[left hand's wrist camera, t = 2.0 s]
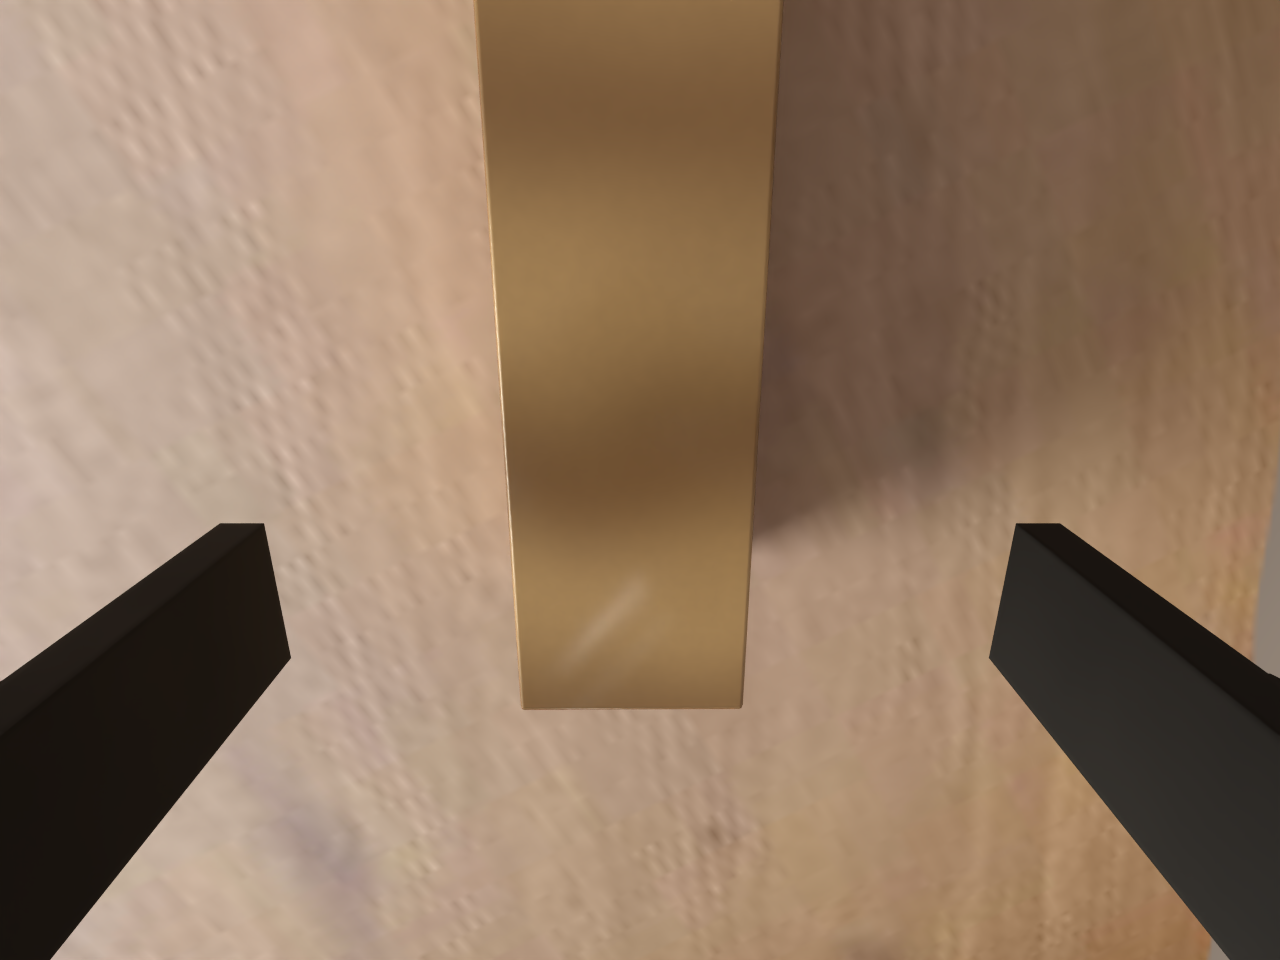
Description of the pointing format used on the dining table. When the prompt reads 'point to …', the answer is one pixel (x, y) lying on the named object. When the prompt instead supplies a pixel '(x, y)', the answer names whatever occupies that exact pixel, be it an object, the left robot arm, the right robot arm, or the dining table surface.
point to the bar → (630, 334)
